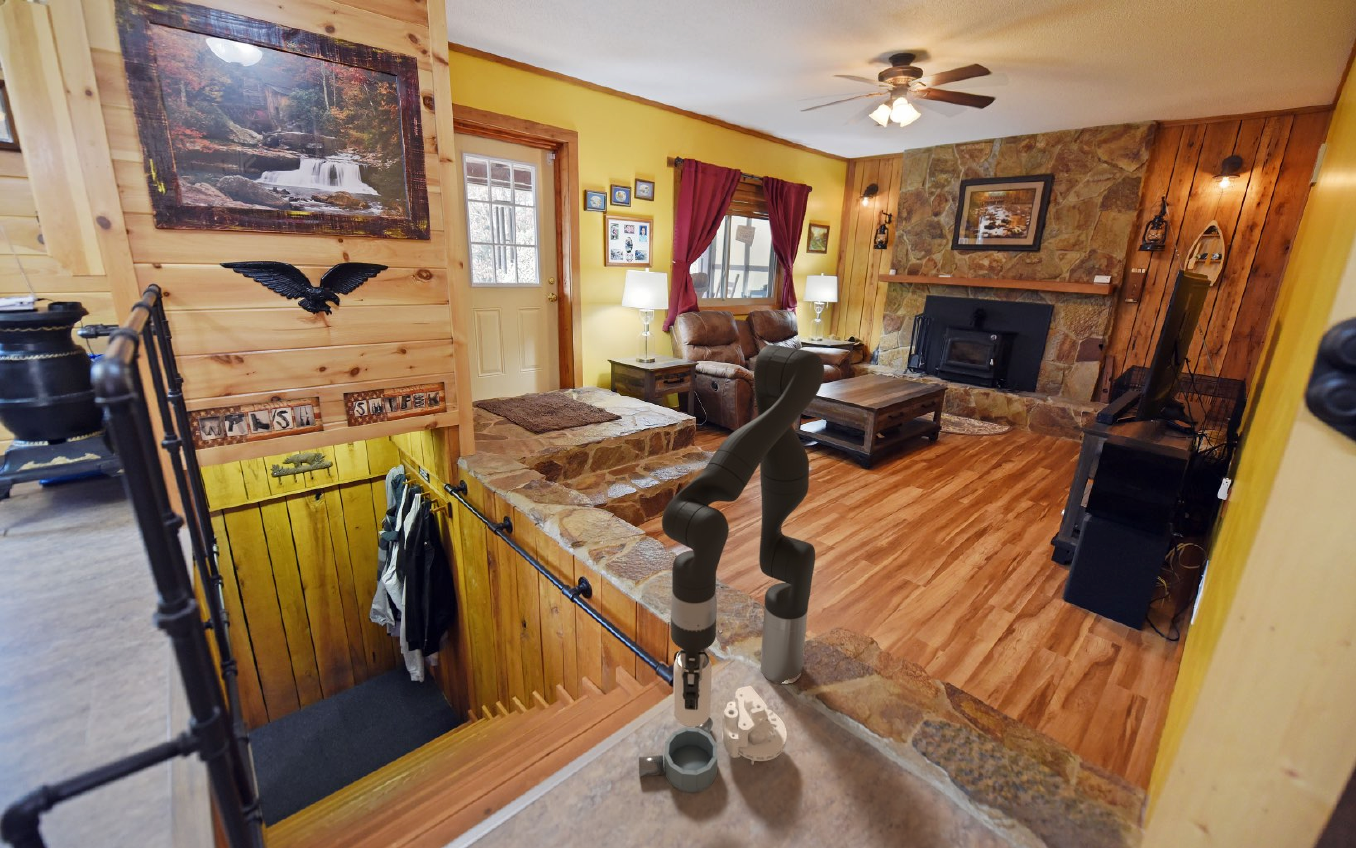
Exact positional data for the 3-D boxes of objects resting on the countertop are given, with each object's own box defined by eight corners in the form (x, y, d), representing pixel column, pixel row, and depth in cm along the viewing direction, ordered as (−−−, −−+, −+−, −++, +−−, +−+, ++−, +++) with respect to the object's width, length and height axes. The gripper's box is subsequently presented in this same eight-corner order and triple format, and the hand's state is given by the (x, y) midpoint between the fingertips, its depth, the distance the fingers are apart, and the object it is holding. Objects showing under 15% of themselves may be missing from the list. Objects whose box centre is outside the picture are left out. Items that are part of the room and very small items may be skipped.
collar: (667, 743, 107) (667, 726, 106) (717, 747, 107) (717, 729, 105) (662, 791, 98) (662, 772, 97) (716, 795, 97) (717, 776, 96)
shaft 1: (662, 763, 103) (662, 751, 102) (663, 778, 100) (663, 766, 99) (638, 765, 103) (638, 753, 102) (639, 780, 100) (639, 768, 99)
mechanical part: (789, 778, 101) (793, 729, 97) (723, 777, 101) (725, 727, 97) (779, 726, 111) (783, 679, 107) (720, 724, 111) (721, 678, 107)
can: (685, 693, 102) (685, 639, 98) (716, 708, 99) (718, 653, 95) (666, 718, 96) (666, 662, 93) (699, 734, 93) (700, 678, 89)
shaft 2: (706, 747, 106) (706, 735, 105) (691, 743, 107) (691, 731, 106) (712, 729, 110) (713, 717, 109) (698, 725, 111) (698, 713, 110)
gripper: (715, 645, 84) (713, 730, 90) (716, 587, 97) (714, 664, 103) (666, 642, 84) (666, 727, 90) (674, 585, 98) (674, 662, 104)
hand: (692, 693), depth 97 cm, fingers closed on can, 5 cm apart
